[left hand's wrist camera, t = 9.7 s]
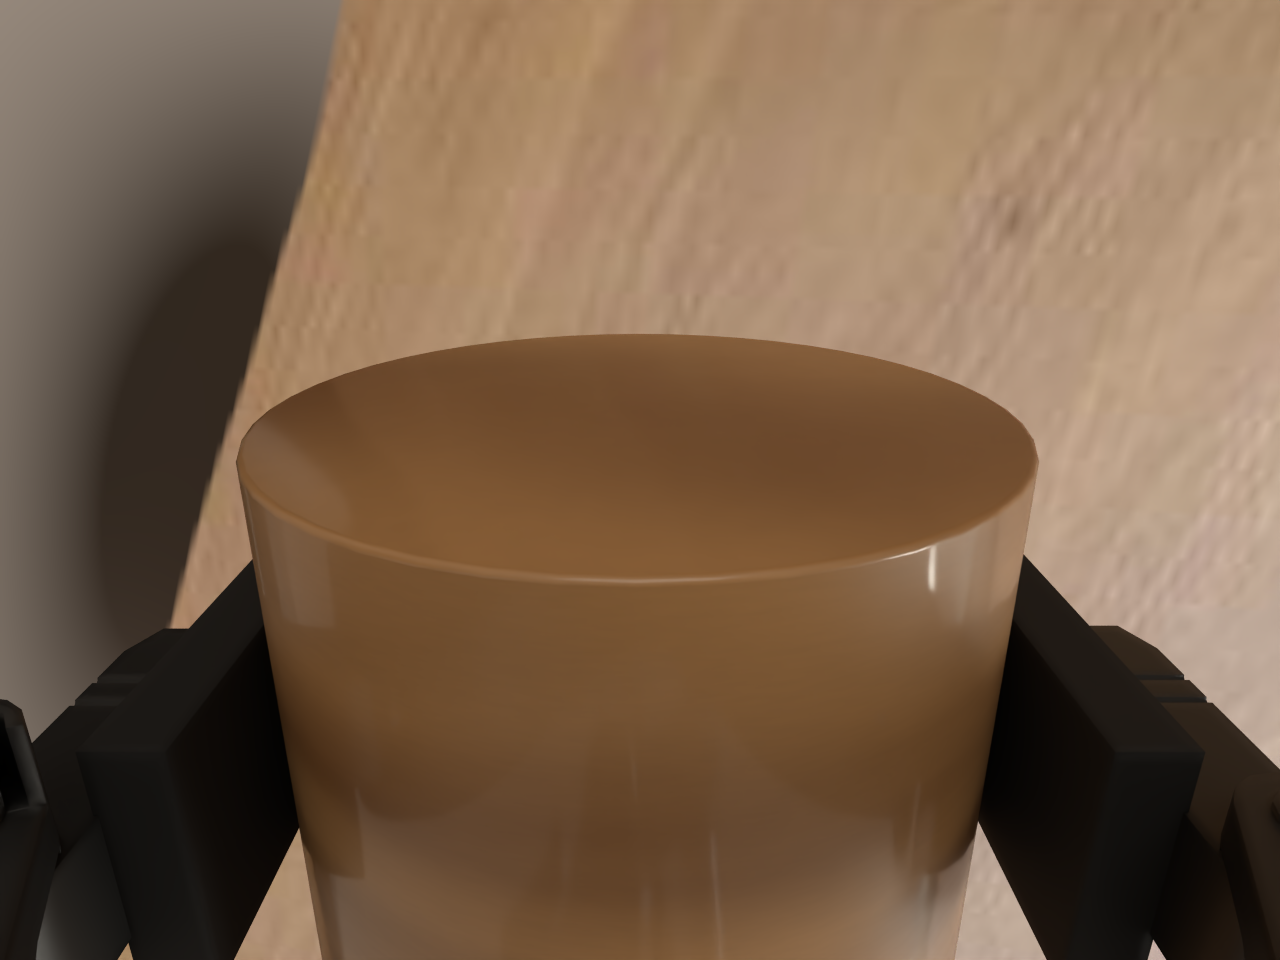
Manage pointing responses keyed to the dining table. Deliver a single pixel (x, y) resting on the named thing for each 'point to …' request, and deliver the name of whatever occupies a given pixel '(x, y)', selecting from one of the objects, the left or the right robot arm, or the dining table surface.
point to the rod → (637, 646)
